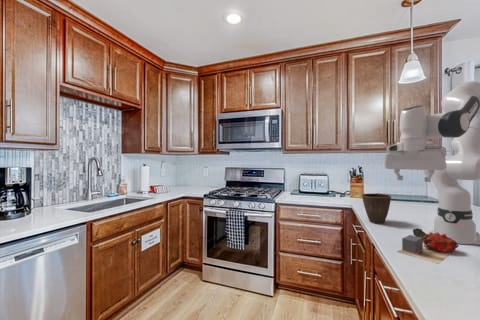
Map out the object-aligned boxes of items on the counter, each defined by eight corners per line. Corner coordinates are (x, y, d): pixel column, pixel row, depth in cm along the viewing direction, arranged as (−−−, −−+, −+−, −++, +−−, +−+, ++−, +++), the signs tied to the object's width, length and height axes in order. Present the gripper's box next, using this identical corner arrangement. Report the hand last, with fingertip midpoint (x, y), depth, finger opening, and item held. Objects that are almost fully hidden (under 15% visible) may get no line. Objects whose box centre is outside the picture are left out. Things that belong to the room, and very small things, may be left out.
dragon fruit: (418, 253, 97) (455, 261, 93) (426, 247, 91) (466, 256, 86) (417, 233, 102) (452, 240, 97) (425, 226, 95) (463, 233, 90)
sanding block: (410, 246, 97) (409, 234, 97) (422, 250, 94) (422, 237, 94) (402, 250, 93) (402, 238, 93) (415, 254, 90) (415, 241, 90)
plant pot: (371, 226, 132) (370, 197, 132) (357, 219, 147) (357, 193, 147) (397, 225, 133) (397, 197, 132) (381, 218, 148) (380, 193, 147)
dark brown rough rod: (412, 235, 115) (412, 226, 115) (422, 236, 114) (422, 227, 114) (428, 250, 97) (428, 239, 97) (440, 251, 96) (440, 240, 96)
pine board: (409, 248, 100) (409, 244, 100) (449, 259, 89) (449, 255, 89) (396, 255, 93) (396, 251, 93) (438, 267, 82) (438, 263, 82)
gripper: (449, 145, 88) (449, 182, 88) (389, 147, 105) (389, 178, 105) (443, 145, 84) (443, 183, 84) (382, 147, 101) (382, 179, 101)
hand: (413, 181), depth 95 cm, fingers open, 8 cm apart
